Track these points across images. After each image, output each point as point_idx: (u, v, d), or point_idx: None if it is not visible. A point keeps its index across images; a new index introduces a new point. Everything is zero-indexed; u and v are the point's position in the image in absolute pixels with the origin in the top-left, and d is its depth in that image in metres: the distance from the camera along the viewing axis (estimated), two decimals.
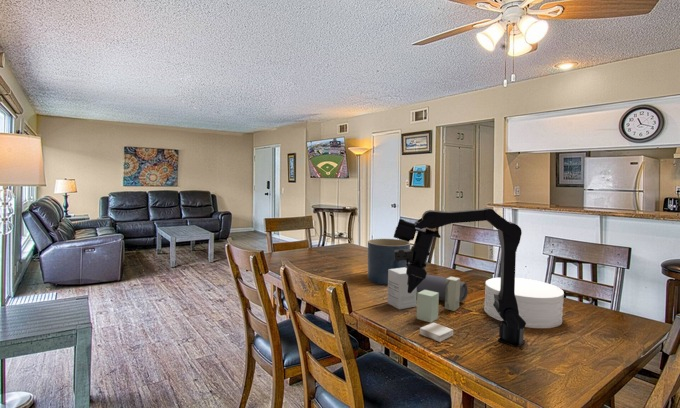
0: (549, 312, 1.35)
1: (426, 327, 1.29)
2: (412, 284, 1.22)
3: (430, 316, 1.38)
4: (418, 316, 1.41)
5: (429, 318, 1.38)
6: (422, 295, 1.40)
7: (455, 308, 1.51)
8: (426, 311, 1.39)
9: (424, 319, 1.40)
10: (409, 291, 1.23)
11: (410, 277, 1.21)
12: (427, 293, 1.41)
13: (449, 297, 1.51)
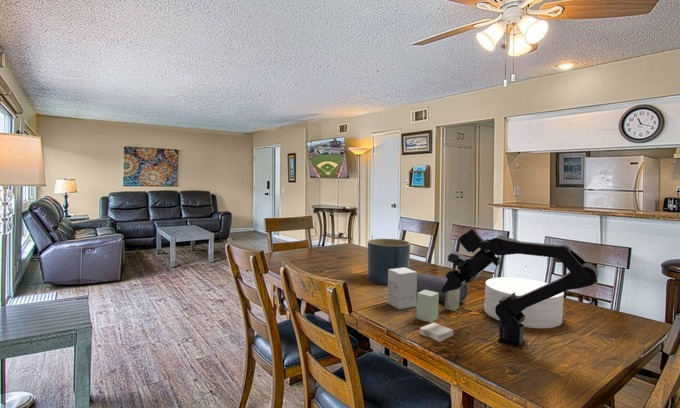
0: (549, 312, 1.35)
1: (426, 327, 1.29)
2: (447, 286, 1.30)
3: (430, 316, 1.38)
4: (418, 316, 1.41)
5: (429, 318, 1.38)
6: (422, 295, 1.40)
7: (455, 308, 1.51)
8: (426, 311, 1.39)
9: (424, 319, 1.40)
10: (442, 290, 1.32)
11: (448, 280, 1.29)
12: (427, 293, 1.41)
13: (449, 297, 1.51)
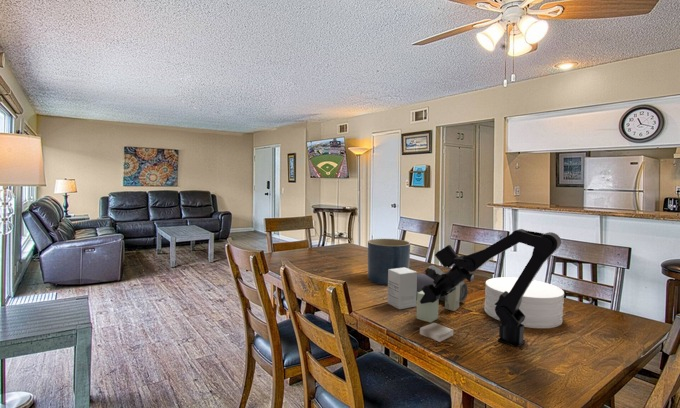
0: (549, 312, 1.35)
1: (426, 326, 1.29)
2: (425, 298, 1.37)
3: (430, 316, 1.38)
4: (418, 316, 1.41)
5: (429, 318, 1.38)
6: (422, 295, 1.40)
7: (455, 308, 1.51)
8: (426, 311, 1.39)
9: (424, 319, 1.40)
10: (421, 302, 1.40)
11: None
12: None
13: (449, 297, 1.51)
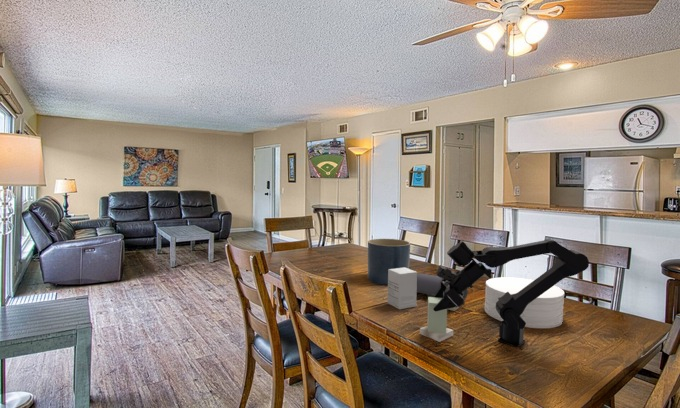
0: (550, 312, 1.35)
1: (426, 327, 1.29)
2: (442, 305, 1.21)
3: (446, 326, 1.24)
4: (430, 329, 1.25)
5: (444, 328, 1.24)
6: (435, 304, 1.24)
7: (455, 308, 1.51)
8: (440, 321, 1.24)
9: (438, 331, 1.24)
10: (435, 309, 1.22)
11: (444, 298, 1.20)
12: (438, 301, 1.26)
13: None
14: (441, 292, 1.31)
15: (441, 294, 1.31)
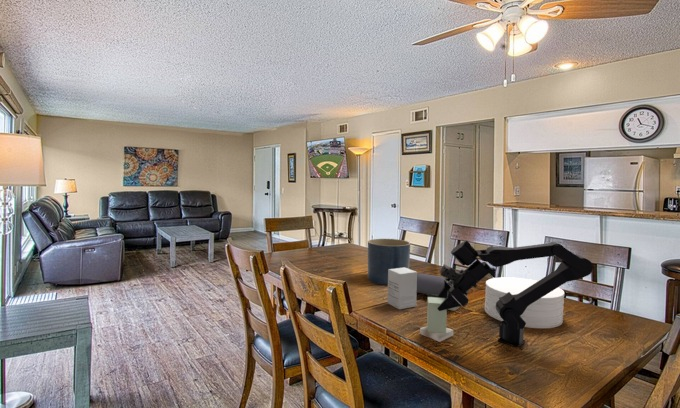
0: (550, 312, 1.35)
1: (426, 327, 1.29)
2: (446, 304, 1.20)
3: (445, 326, 1.24)
4: (430, 329, 1.25)
5: (444, 328, 1.24)
6: (435, 304, 1.24)
7: (455, 308, 1.51)
8: (440, 321, 1.24)
9: (437, 330, 1.24)
10: (439, 309, 1.22)
11: (449, 298, 1.19)
12: (437, 301, 1.26)
13: None
14: (445, 291, 1.31)
15: (445, 293, 1.31)
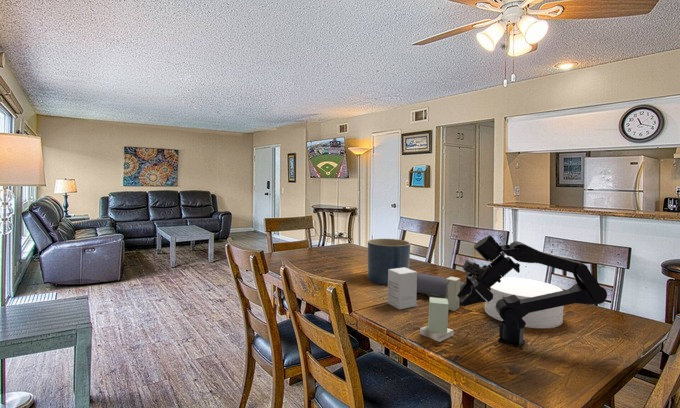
0: (550, 312, 1.34)
1: (426, 327, 1.29)
2: (470, 300, 1.19)
3: (447, 326, 1.24)
4: (431, 329, 1.25)
5: (445, 329, 1.24)
6: (436, 304, 1.24)
7: (455, 308, 1.51)
8: (441, 321, 1.24)
9: (438, 331, 1.24)
10: (463, 304, 1.20)
11: (473, 293, 1.18)
12: (439, 301, 1.26)
13: (449, 297, 1.51)
14: (467, 287, 1.29)
15: (467, 289, 1.29)
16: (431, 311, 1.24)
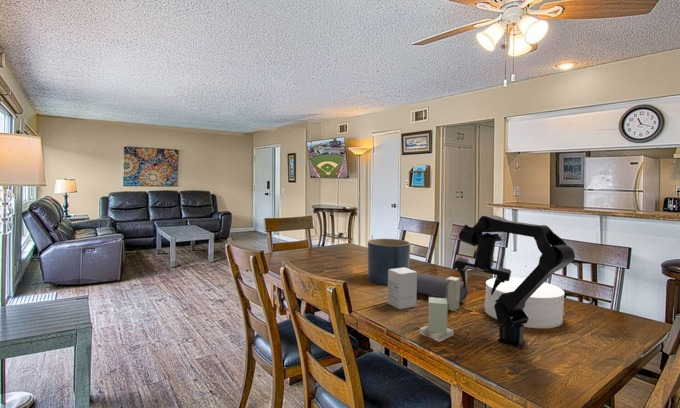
0: (550, 312, 1.34)
1: (426, 327, 1.29)
2: None
3: (446, 326, 1.23)
4: (431, 329, 1.25)
5: (444, 328, 1.24)
6: (435, 304, 1.24)
7: (455, 308, 1.51)
8: (440, 321, 1.24)
9: (438, 331, 1.24)
10: None
11: None
12: (438, 301, 1.26)
13: (449, 297, 1.51)
14: None
15: None
16: (430, 311, 1.24)
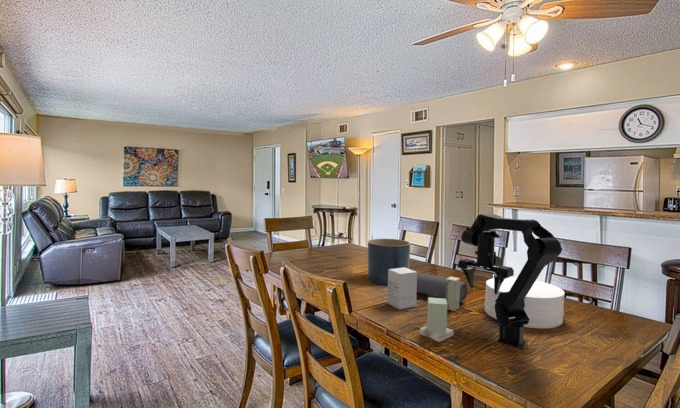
0: (550, 312, 1.34)
1: (426, 327, 1.29)
2: None
3: (446, 327, 1.23)
4: (430, 329, 1.25)
5: (444, 329, 1.24)
6: (435, 304, 1.24)
7: (455, 308, 1.51)
8: (440, 322, 1.24)
9: (438, 331, 1.24)
10: None
11: None
12: (438, 301, 1.26)
13: (449, 297, 1.51)
14: None
15: None
16: (430, 311, 1.24)
